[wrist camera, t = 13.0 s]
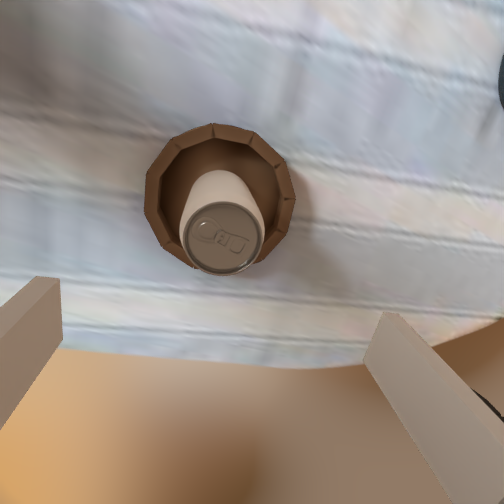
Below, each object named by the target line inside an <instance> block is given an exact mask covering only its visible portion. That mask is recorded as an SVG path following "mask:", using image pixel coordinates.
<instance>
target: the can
mask: <svg viewBox="0 0 504 504" xmlns="http://www.w3.org/2000/svg"><path fill="white" fill-rule="evenodd" d="M179 233H180V240H181V244H182V246H183V248H184V250H185V252H186V255H187V256H188V258H189V259H190V261H191V262H192V263H193V264H194V265H195V266H196V267H197V268H199V269H200V270H202V271H204V272H206V273H208V274H212V275H217V276H228V275H233V274H237V273H239V272H241V271H243V270H245V269H246V268H248V267H249V266H250V265H251V264H252V263H253V262H254V261H255V260H256V258H257V257H258V255H259V253H260V251H261V247H262V244H263V241H264V235H265V227H264V221H263V218H262V215H261V213H260V210H259V208H258V206H257V204H256V202H255V200H254V198H253V197H252V195H251V193H250V191H249V189H248V187H247V186H246V184H245V183H244V181H243V180H242V179H241V178H240V177H238V176H237V175H235V174H234V173H231V172H229V171H224V170H215V171H210V172H208V173H205V174H204V175H202V176H201V177H199V178H198V179H197V180H196V181H195V183H194V184H193V186H192V188H191V191H190V194H189V196H188V199H187V202H186V205H185V208H184V211H183V214H182V217H181V221H180V228H179Z"/></svg>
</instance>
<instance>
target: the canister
mask: <svg viewBox="0 0 504 504" xmlns="http://www.w3.org/2000/svg"><path fill="white" fill-rule="evenodd" d="M499 95H500V99H501V102H502V105H503V107H504V55H503V59H502V62H501V66H500V72H499Z"/></svg>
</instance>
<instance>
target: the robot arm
mask: <svg viewBox="0 0 504 504" xmlns="http://www.w3.org/2000/svg"><path fill="white" fill-rule="evenodd" d="M62 340H63V333H62V314H61V295H60V279H59V278H50V277H40V276H36V277H35V278H34V279H32V280H31V281H30V282H29V283H28V284H27V285H26V286H24V287H23V288H22V289H21V290H20V291H19V292H18V293H16V294H15V295H14V296H13V297H12V298H11V299H10V300H8V301H7V302H6V303H5V304H4V305H3V306H2V307H0V430H1V428H2V427H3V425H4V424H5V423H6V421H7V420H8V418H9V417H10V415H11V414H12V412H13V411H14V410H15V408H16V407H17V405H18V404H19V402H20V401H21V399H22V398H23V397H24V395H25V394H26V392H27V391H28V389H29V388H30V386H31V385H32V383H33V382H34V381H35V379H36V377H37V376H38V375H39V373H40V372H41V370H42V369H43V367H44V366H45V365H46V363H47V362H48V360H49V359H50V357H51V356H52V354H53V353H54V352H55V350H56V349H57V347H58V346H59V344H60V343H61V341H62ZM363 362H364V363H365V365H366V366H367V368H368V370H369V371H370V373H371V374H372V376H373V378H374V379H375V380H376V382H377V384H378V385H379V387H380V388H381V390H382V392H383V393H384V395H385V397H386V398H387V400H388V401H389V403H390V404H391V406H392V408H393V409H394V411H395V413H396V414H397V416H398V417H399V419H400V421H401V422H402V424H403V425H404V427H405V429H406V430H407V432H408V433H409V435H410V437H411V438H412V440H413V441H414V443H415V445H416V446H417V448H418V449H419V451H420V453H421V454H422V456H423V457H424V459H425V460H426V462H427V464H428V465H429V467H430V468H431V470H432V472H433V473H434V475H435V476H436V478H437V480H438V481H439V483H440V484H441V486H442V488H443V489H444V491H445V492H446V494H447V496H448V497H449V499H450V500H451V502H452V504H504V417H501V414H500V413H499V412H498V411H497V410H496V409H495V408H494V407H493V406H492V405H491V404H490V403H489V401H487V400H486V399H485V398H484V397H482V396H481V395H480V394H478V393H477V392H476V391H474V390H473V389H471V388H470V387H469V386H468V385H467V384H466V383H465V382H464V381H463V380H462V379H461V378H460V377H459V376H458V375H457V374H456V373H455V372H454V371H453V370H452V369H451V368H450V367H449V366H448V365H447V364H446V363H445V362H444V360H442V358H441V357H440V356H439V355H438V354H437V353H436V352H435V351H434V350H433V349H432V348H431V347H430V346H429V345H428V344H427V343H426V342H425V341H424V340H423V339H422V338H421V337H420V336H419V335H418V334H417V333H416V331H415V330H414V329H413V328H412V327H411V326H410V325H409V324H408V323H407V322H406V321H405V320H404V319H403V318H402V317H401V316H400V315H399V314H395V313H386V312H383V314H382V316H381V319H380V321H379V323H378V326H377V328H376V330H375V333H374V335H373V338H372V340H371V342H370V345H369V347H368V349H367V352H366V354H365V357H364V359H363Z"/></svg>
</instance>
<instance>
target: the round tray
mask: <svg viewBox="0 0 504 504" xmlns="http://www.w3.org/2000/svg"><path fill="white" fill-rule="evenodd" d="M215 170H224V171H229V172H231V173H234V174H235V175H237V176H238V177H240V178H241V179H242V180H243V181H244V183H245V184H246V186H247V187H248V189H249V191H250V193H251V195H252V197H253V198H254V200H255V202H256V204H257V206H258V208H259V210H260V213H261V215H262V218H263V221H264V227H265V235H264V241H263V244H262V247H261V251H260V253H259V255H258V257H257V258H256V260H255V261H254V262H253V263H252V264H254V263H257V262H260V261H262V260H263V259H264V258H265V257H266V256H267V255H268V254H269V253H270V252H271V251H272V250H273V249H274V248H275V246H276V245H277V244H278V243H279V242H280V241H281V240H282V239H283V238H284V237H285V236H286V233H287V232H288V228H289V224H290V220H291V216H292V212H293V208H294V204H295V200H296V199H295V193H294V190H293V186H292V183H291V179H290V176H289V172H288V169H287V165H286V162H285V161H284V159H283V158H282V157H281V156H280V155H279V154H278V153H277V152H276V151H275V150H274V149H273V148H271V147H270V146H269V145H268V144H267V143H266V142H265V141H264V140H263V139H262V138H261V137H260V136H259V135H258V134H257V133H256V132H254V131H249V130H244V129H242V128H238V127H235V126H230V125H223V124H216V123H213V125H212V123H210V124H208V125H205V126H201V127H198V128H194V129H191V130H189V131H187V132H185V133H183V134H181V135H179V136H176V137H173V138H172V139H170V141H169V142H168V143H167V145H166V146H165V148H164V149H163V150H162V152H161V153H160V154H159V156H158V157H157V158H156V160H155V161H154V163H153V164H152V165H151V167H150V168H149V169H148V171H147V173H146V186H145V202H144V212H145V213H144V214H145V216H146V218H147V220H148V222H149V224H150V226H151V228H152V230H153V232H154V233H155V235H156V237H157V239H158V241H159V243H160V245H161V247H162V246H163V249H165V250H166V251H168V252H169V253H171V254H172V255H174V256H175V257H177V258H178V259H180V260H181V261H183V262H184V263H186V264H187V265H189V266H190V267H192V268H193V266H194V269H199V268H197V267H196V266H195V265H194V264H193V263H192V262H191V261H190V259H189V258H188V256H187V255H186V252H185V250H184V248H183V246H182V244H181V240H180V233H179V228H180V221H181V217H182V214H183V211H184V208H185V205H186V202H187V199H188V196H189V194H190V191H191V188H192V186H193V184H194V183H195V181H196V180H197V179H198V178H199V177H201V176H202V175H204V174H205V173H208V172H210V171H215ZM261 259H262V260H261ZM252 264H251V265H252Z"/></svg>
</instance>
